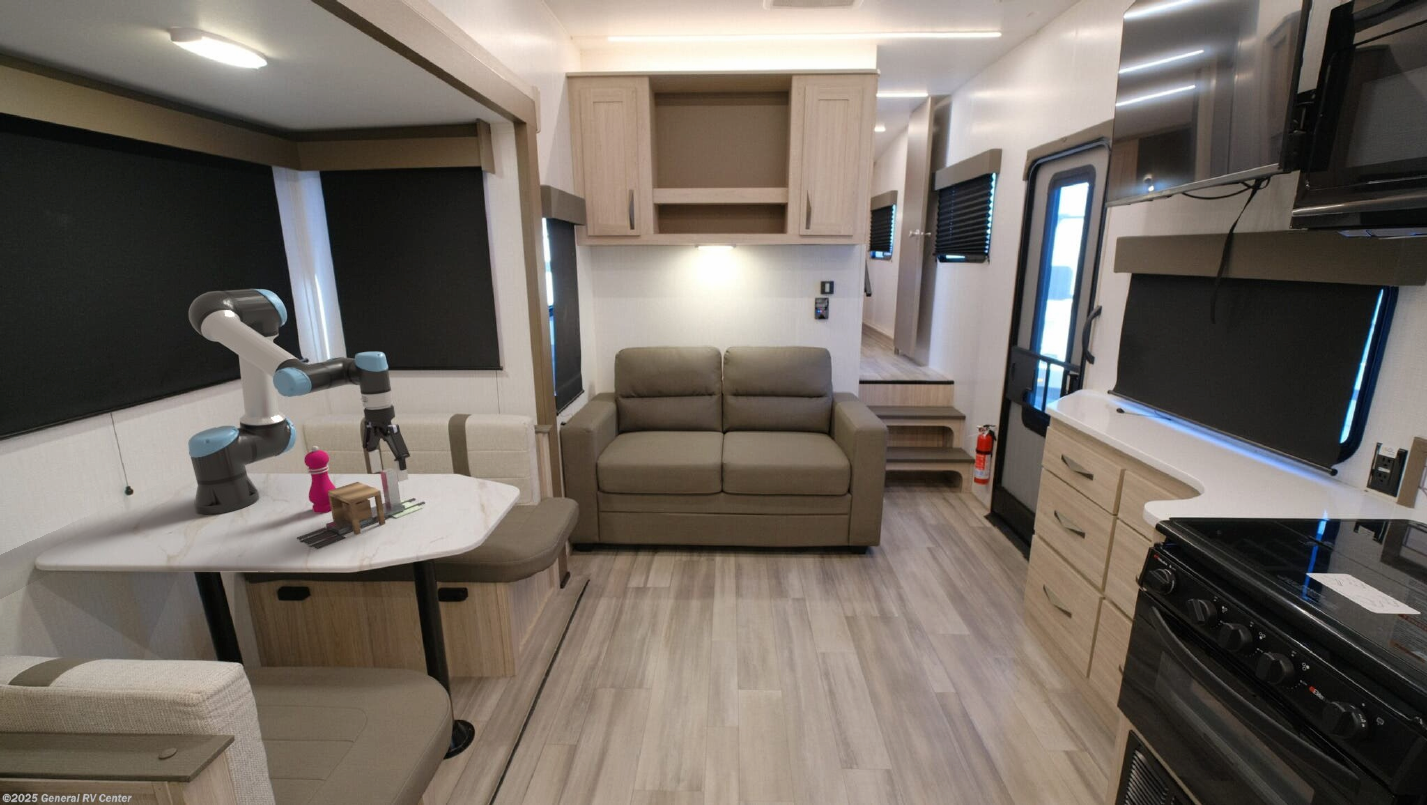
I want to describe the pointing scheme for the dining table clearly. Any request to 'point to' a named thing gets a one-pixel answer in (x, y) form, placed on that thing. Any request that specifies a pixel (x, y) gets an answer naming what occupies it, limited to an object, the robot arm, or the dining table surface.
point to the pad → (406, 510)
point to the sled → (389, 506)
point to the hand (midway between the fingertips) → (389, 476)
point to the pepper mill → (319, 480)
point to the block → (358, 510)
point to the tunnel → (354, 502)
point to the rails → (360, 526)
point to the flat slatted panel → (321, 538)
